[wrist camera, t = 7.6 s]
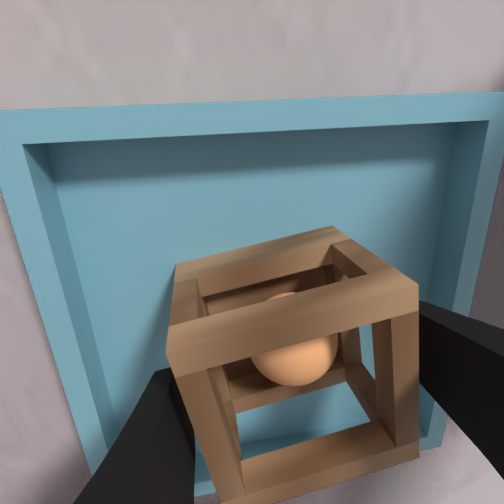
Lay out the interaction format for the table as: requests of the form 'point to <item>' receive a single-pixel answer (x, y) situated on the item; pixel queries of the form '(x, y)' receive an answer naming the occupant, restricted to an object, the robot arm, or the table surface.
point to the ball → (298, 359)
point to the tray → (236, 228)
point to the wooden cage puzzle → (287, 334)
